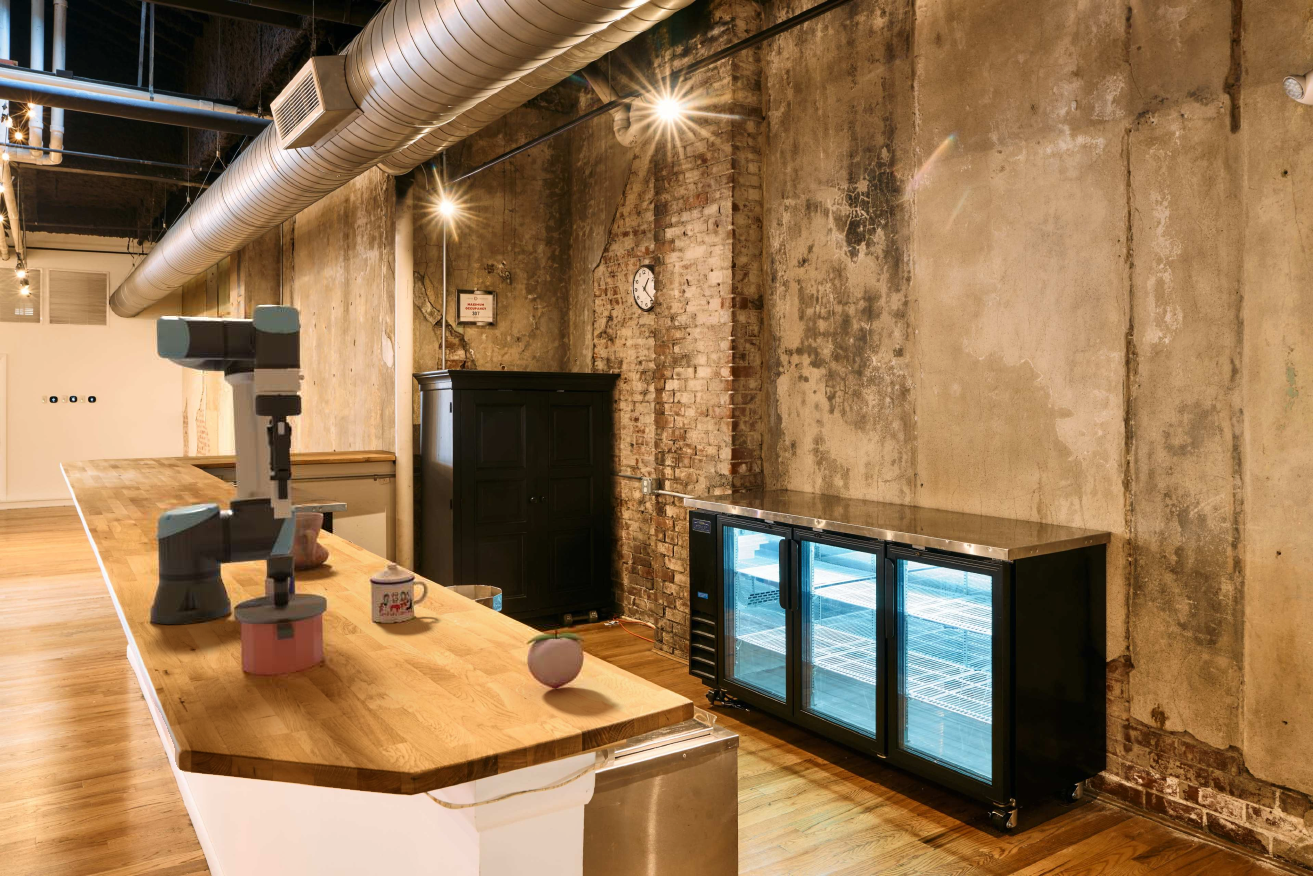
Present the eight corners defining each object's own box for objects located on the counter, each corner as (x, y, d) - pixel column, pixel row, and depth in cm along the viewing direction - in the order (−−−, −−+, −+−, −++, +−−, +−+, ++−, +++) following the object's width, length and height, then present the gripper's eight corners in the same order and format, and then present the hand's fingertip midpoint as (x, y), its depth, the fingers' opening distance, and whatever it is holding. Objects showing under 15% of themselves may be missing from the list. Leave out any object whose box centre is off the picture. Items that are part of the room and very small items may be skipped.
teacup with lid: (376, 626, 174) (375, 570, 173) (365, 616, 182) (364, 562, 181) (434, 618, 180) (433, 563, 180) (421, 608, 188) (420, 556, 187)
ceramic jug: (263, 565, 233) (261, 514, 232) (317, 559, 242) (316, 509, 241) (282, 577, 219) (281, 522, 218) (339, 569, 228) (338, 517, 227)
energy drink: (302, 633, 169) (300, 573, 168) (282, 640, 164) (280, 579, 163) (280, 630, 171) (279, 571, 170) (260, 638, 166) (258, 577, 165)
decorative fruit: (535, 702, 132) (535, 639, 132) (522, 685, 140) (522, 625, 139) (593, 693, 136) (592, 632, 135) (576, 677, 144) (576, 619, 143)
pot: (328, 674, 145) (327, 622, 144) (243, 686, 139) (241, 632, 138) (316, 641, 164) (315, 595, 163) (241, 650, 158) (239, 602, 157)
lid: (214, 619, 146) (212, 561, 145) (278, 598, 160) (276, 546, 160) (285, 627, 141) (284, 567, 141) (344, 605, 156) (343, 551, 155)
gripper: (306, 395, 142) (309, 521, 143) (296, 392, 164) (298, 501, 165) (256, 395, 138) (260, 524, 140) (253, 392, 161) (256, 503, 162)
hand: (281, 512), depth 153 cm, fingers open, 13 cm apart
